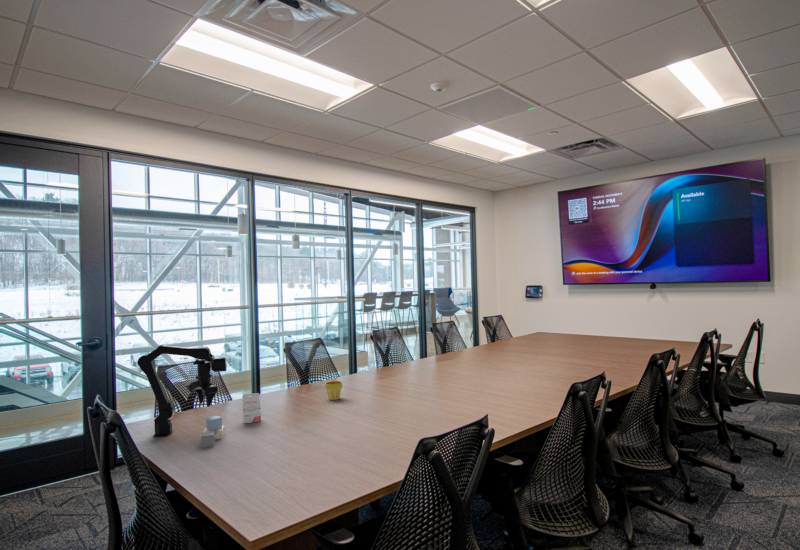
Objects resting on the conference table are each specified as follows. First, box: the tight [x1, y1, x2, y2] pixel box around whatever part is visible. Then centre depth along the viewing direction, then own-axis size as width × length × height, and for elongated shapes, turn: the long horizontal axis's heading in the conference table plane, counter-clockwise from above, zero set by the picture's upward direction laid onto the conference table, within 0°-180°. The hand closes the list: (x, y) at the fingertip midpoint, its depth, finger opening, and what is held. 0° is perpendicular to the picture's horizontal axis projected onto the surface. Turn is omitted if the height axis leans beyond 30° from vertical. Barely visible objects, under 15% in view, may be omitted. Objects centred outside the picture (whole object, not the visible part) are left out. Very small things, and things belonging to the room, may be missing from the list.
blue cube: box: [205, 415, 223, 431], centre depth 207 cm, size 5×5×5 cm
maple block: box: [202, 424, 226, 440], centre depth 207 cm, size 8×8×4 cm
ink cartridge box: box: [242, 392, 262, 424], centre depth 229 cm, size 9×5×15 cm, turn 105°
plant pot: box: [324, 380, 343, 401], centre depth 270 cm, size 10×10×10 cm
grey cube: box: [200, 431, 216, 448], centre depth 196 cm, size 5×5×5 cm
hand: (204, 404), depth 218 cm, fingers open, 9 cm apart
